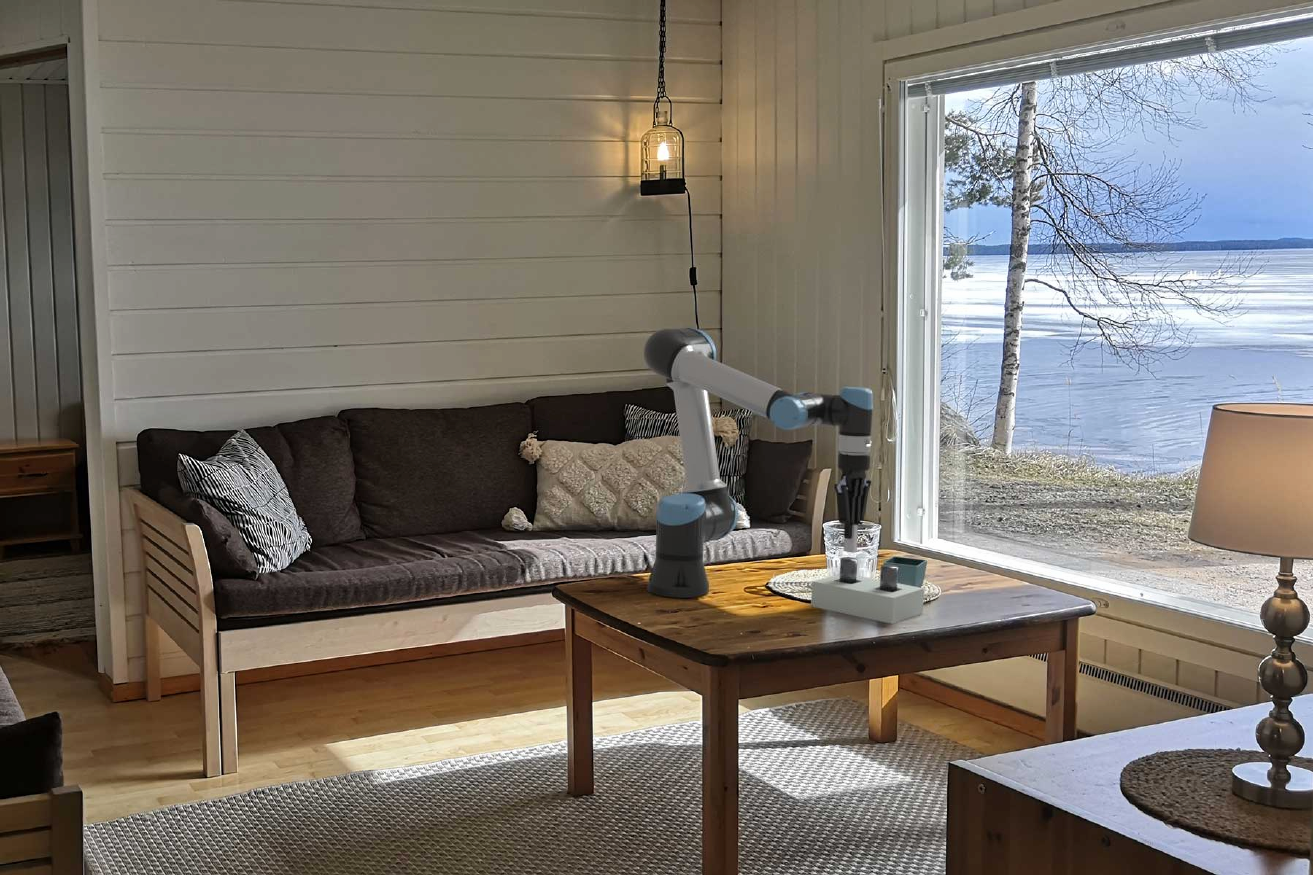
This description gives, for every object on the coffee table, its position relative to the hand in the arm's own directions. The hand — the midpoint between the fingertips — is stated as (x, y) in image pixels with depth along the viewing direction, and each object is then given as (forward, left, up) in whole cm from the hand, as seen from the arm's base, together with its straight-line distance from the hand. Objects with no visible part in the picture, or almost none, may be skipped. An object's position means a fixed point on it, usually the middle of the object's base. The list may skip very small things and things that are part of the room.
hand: (850, 551), depth 309 cm
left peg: (0, 0, -8) cm, 8 cm away
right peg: (+11, 0, -8) cm, 14 cm away
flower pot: (+4, +19, -13) cm, 24 cm away
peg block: (+5, 0, -13) cm, 14 cm away
